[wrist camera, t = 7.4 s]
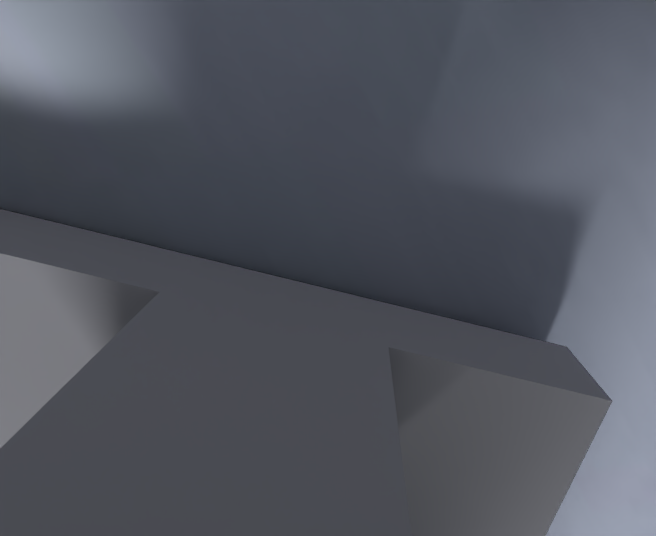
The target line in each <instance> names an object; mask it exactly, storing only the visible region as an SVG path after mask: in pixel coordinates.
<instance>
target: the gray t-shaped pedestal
mask: <svg viewBox="0 0 656 536" xmlns="http://www.w3.org/2000/svg"><path fill="white" fill-rule="evenodd" d="M611 402H612V400H611V399H610V398H609V397H608V395H607V394H606V393H605V392H604V391H603V389H602V388H601V387H600V386H599V385H598V383H597V382H596V381H595V380H594V379H593V377H592V376H591V375H590V374H589V373H588V371H587V370H586V369H585V368H584V367H583V365H582V364H581V363H580V362H579V361H578V360H577V358H576V357H575V356H574V355H573V354H572V352H571V351H570V350H569V349H568V348H567V347H565V346H561V345H557V344H553V343H549V342H545V341H540V340H536V339H532V338H528V337H524V336H520V335H516V334H512V333H508V332H503V331H499V330H495V329H491V328H487V327H483V326H479V325H475V324H471V323H467V322H462V321H458V320H454V319H450V318H446V317H442V316H438V315H434V314H430V313H425V312H421V311H417V310H413V309H409V308H405V307H401V306H397V305H393V304H388V303H384V302H380V301H376V300H372V299H368V298H364V297H360V296H356V295H352V294H347V293H343V292H339V291H335V290H331V289H327V288H323V287H319V286H315V285H310V284H306V283H302V282H298V281H294V280H290V279H286V278H282V277H278V276H273V275H269V274H265V273H261V272H257V271H253V270H249V269H245V268H241V267H237V266H232V265H228V264H224V263H220V262H216V261H212V260H208V259H204V258H200V257H195V256H191V255H187V254H183V253H179V252H175V251H171V250H167V249H163V248H158V247H154V246H150V245H146V244H142V243H138V242H134V241H130V240H126V239H122V238H117V237H113V236H109V235H105V234H101V233H97V232H93V231H89V230H85V229H80V228H76V227H72V226H68V225H64V224H60V223H56V222H52V221H48V220H43V219H39V218H35V217H31V216H27V215H23V214H19V213H15V212H11V211H7V210H2V209H0V536H545V535H546V533H547V531H548V529H549V527H550V525H551V523H552V521H553V519H554V517H555V515H556V513H557V511H558V509H559V507H560V505H561V503H562V501H563V499H564V497H565V495H566V493H567V491H568V489H569V487H570V485H571V483H572V481H573V479H574V477H575V475H576V473H577V471H578V469H579V467H580V465H581V463H582V461H583V459H584V457H585V455H586V453H587V451H588V449H589V447H590V445H591V443H592V441H593V439H594V437H595V435H596V433H597V431H598V429H599V427H600V425H601V423H602V421H603V419H604V417H605V415H606V413H607V410H608V408H609V406H610V404H611Z"/></svg>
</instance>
